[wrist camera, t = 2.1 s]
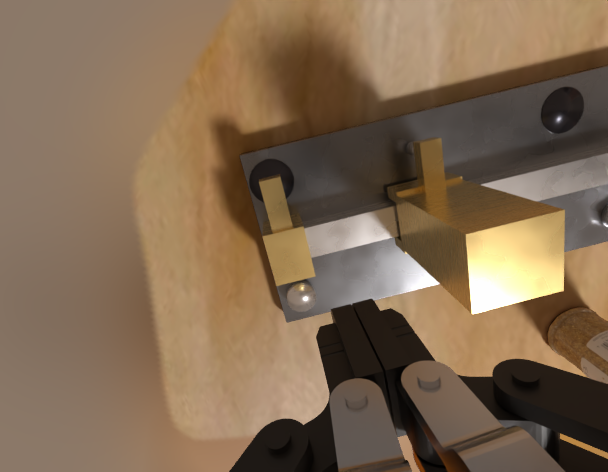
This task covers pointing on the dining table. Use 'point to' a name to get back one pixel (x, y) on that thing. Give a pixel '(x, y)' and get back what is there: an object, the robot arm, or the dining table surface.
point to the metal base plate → (401, 168)
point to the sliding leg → (477, 235)
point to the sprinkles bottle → (582, 341)
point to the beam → (384, 218)
